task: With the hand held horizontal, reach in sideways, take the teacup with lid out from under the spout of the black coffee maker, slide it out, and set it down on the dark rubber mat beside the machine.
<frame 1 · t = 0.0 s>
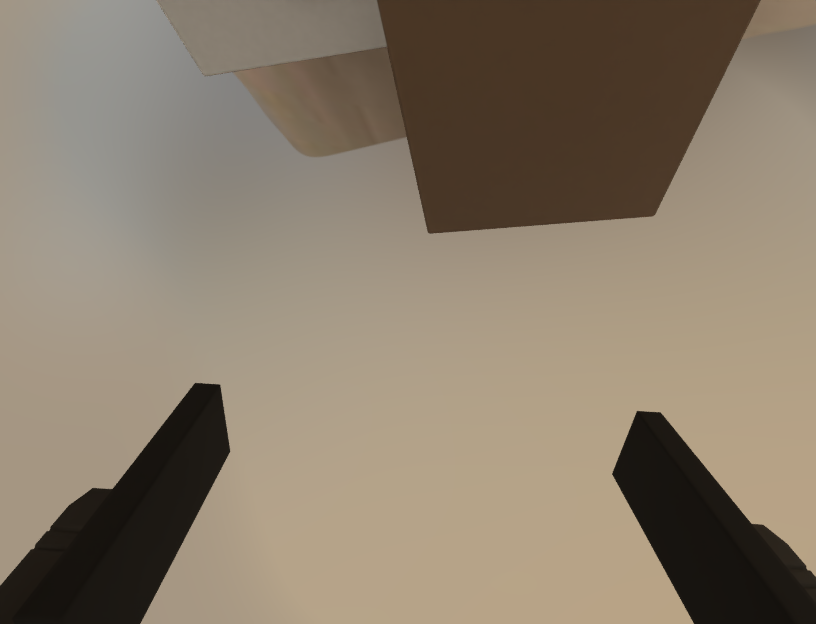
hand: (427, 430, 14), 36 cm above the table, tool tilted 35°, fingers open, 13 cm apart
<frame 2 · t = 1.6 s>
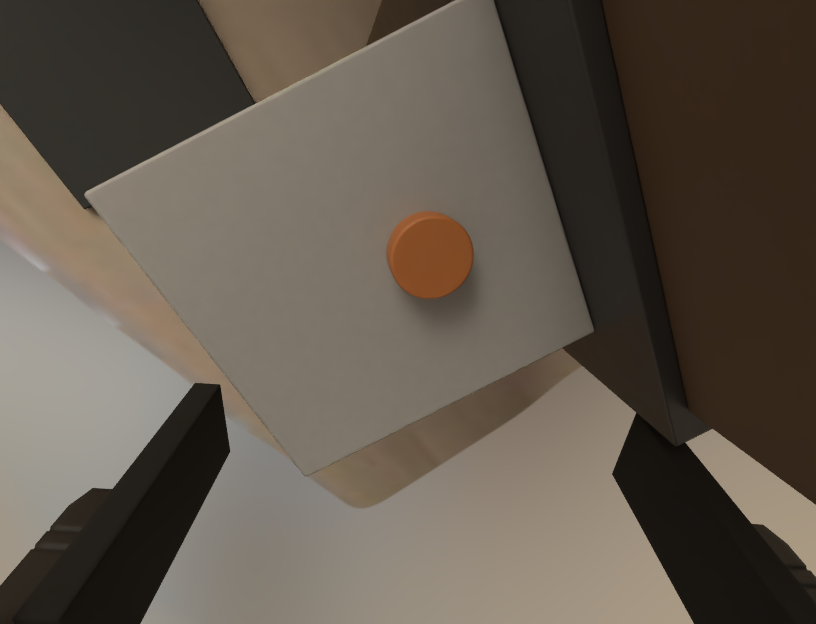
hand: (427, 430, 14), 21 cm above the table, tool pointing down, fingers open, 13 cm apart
rubber mat: (106, 59, 25), on the table
coffee maker: (307, 211, 30), on the table
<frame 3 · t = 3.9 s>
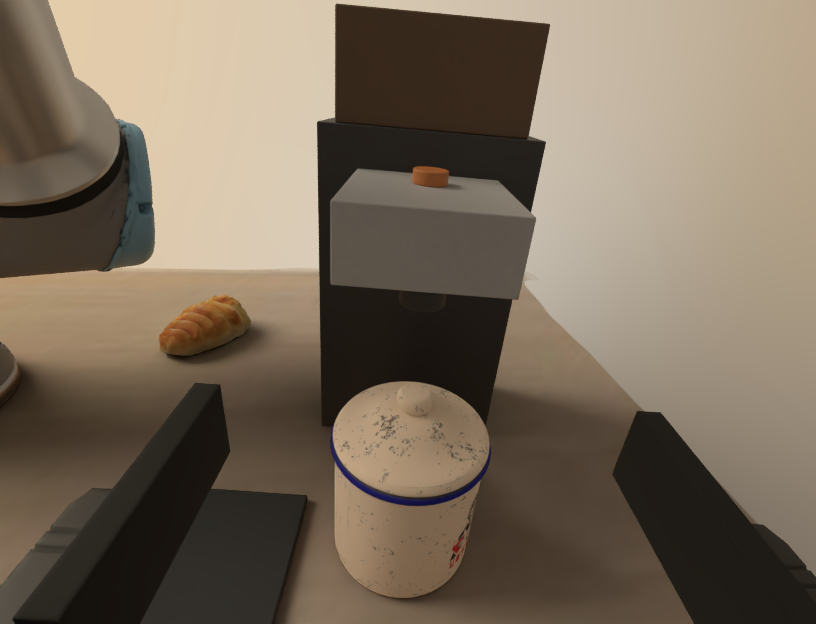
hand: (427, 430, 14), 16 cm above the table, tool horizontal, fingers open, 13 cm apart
rubber mat: (164, 591, 24), on the table
coffee maker: (399, 513, 29), on the table
pastry: (210, 338, 47), on the table
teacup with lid: (399, 515, 29), on the table
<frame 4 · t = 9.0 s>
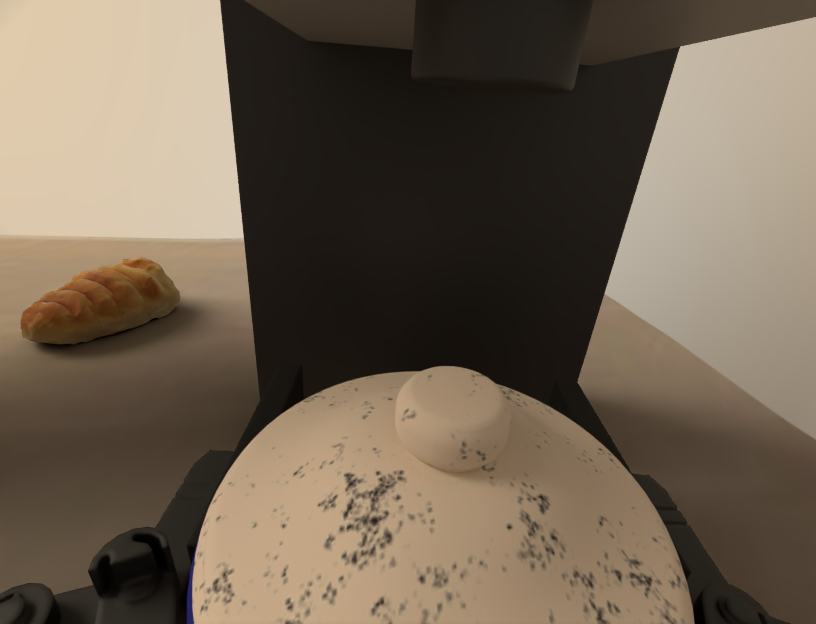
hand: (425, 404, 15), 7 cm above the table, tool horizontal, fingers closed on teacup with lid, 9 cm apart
pastry: (116, 320, 32), on the table
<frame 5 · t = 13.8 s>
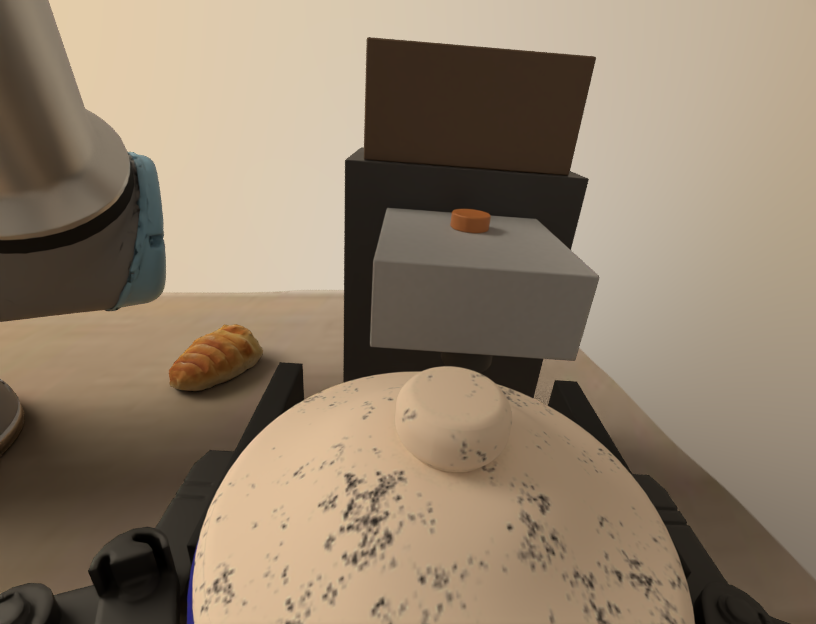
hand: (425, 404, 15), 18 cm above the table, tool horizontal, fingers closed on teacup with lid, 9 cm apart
coffee maker: (432, 572, 27), on the table
pastry: (220, 369, 46), on the table
when the fingers open (7 cm above the table, at t = 19.0 s): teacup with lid stays where it is, resting on rubber mat.
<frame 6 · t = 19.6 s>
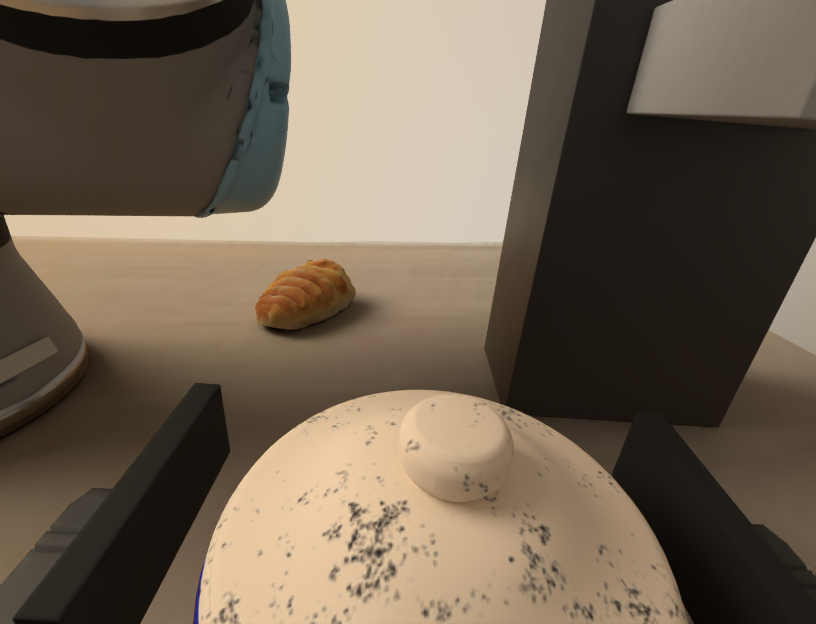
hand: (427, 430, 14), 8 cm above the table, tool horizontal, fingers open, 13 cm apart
coffee maker: (685, 535, 20), on the table
pastry: (308, 311, 38), on the table
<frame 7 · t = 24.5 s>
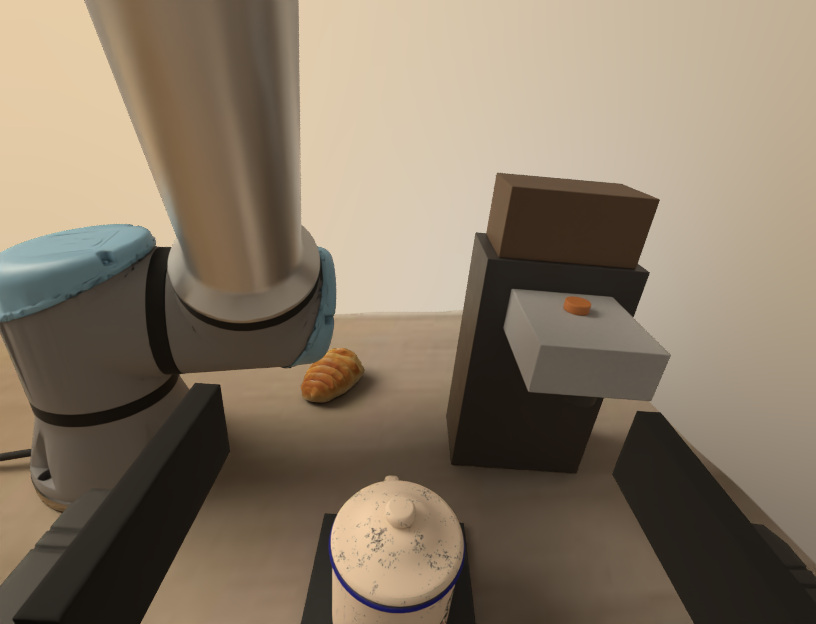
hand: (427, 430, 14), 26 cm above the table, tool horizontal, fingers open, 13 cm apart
rubber mat: (390, 594, 34), on the table
coffee maker: (532, 536, 39), on the table
pastry: (333, 384, 58), on the table
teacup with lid: (388, 592, 33), resting on rubber mat
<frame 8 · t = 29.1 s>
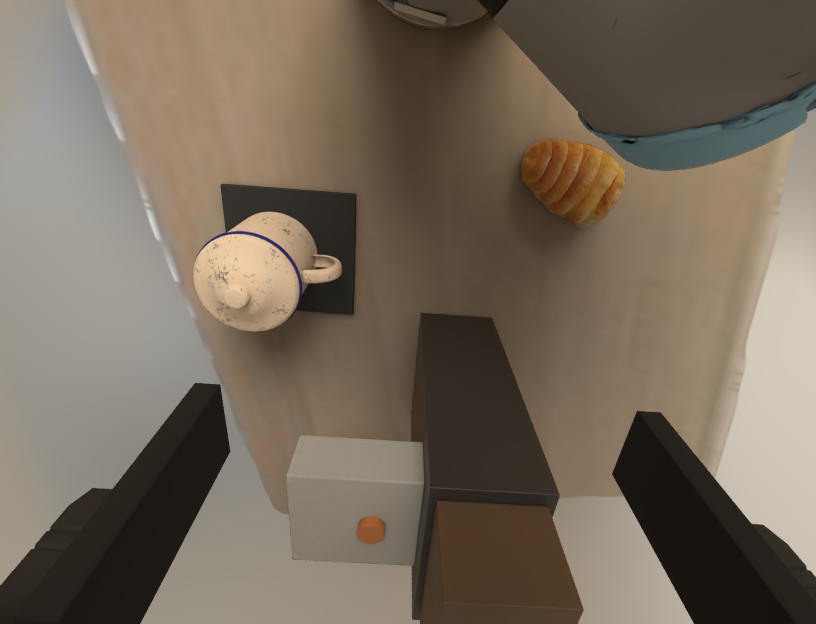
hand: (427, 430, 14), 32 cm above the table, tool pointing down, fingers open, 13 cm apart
rubber mat: (292, 252, 44), on the table
coffee maker: (348, 360, 50), on the table
pastry: (567, 181, 41), on the table
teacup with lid: (291, 251, 44), resting on rubber mat
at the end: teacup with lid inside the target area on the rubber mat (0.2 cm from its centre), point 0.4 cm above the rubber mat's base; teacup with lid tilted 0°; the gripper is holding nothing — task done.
